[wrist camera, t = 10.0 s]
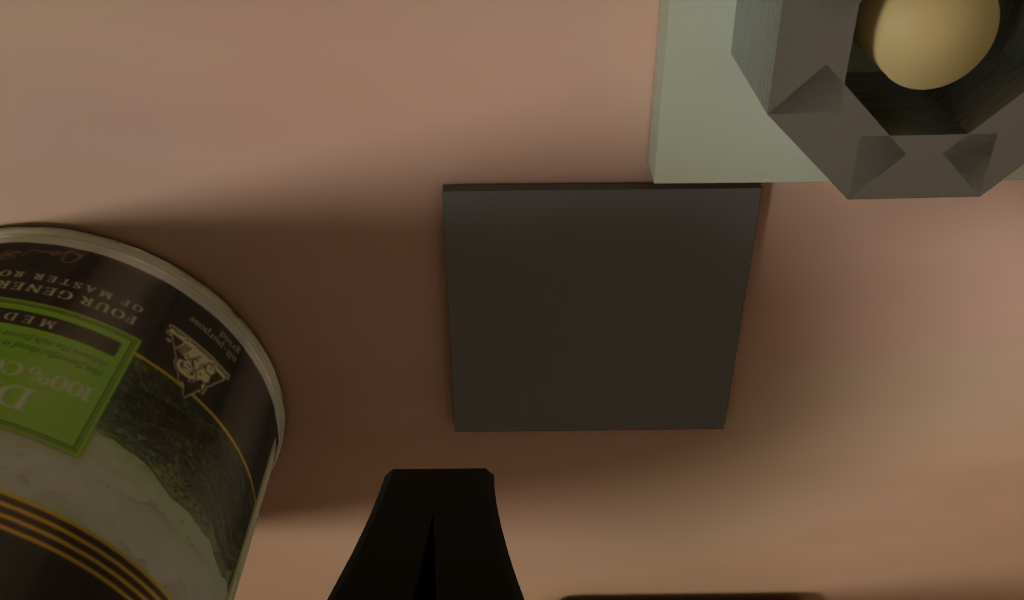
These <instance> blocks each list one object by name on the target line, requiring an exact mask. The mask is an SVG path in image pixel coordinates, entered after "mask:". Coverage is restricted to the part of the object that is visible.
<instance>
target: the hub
mask: <svg viewBox="0 0 1024 600" xmlns="http://www.w3.org/2000/svg"><path fill="white" fill-rule="evenodd" d="M736 2H737V0H661V8H660V21H659V33H658V45H657V57H656V69H655V82H654V94H653V106H652V118H651V131H650V143H649V155H648V165H649V168H650V171H651V175H652V178H653V182H654V183H750V182H831V181H830V180H829V179H828V178H827V177H826V176H825V175H824V174H823V173H822V172H821V171H820V170H819V168H818V167H817V166H816V165H815V164H814V163H813V162H812V161H811V160H810V159H809V158H808V157H807V156H806V155H805V154H804V153H803V152H802V151H801V149H800V148H799V147H798V146H797V145H796V144H795V143H794V142H793V141H792V140H791V139H790V138H789V137H788V136H787V135H786V134H785V133H784V132H783V130H782V129H781V128H780V127H779V126H778V125H777V124H776V123H775V122H774V121H773V120H772V119H771V118H770V117H769V116H768V115H767V113H766V112H765V110H764V108H763V106H762V105H761V103H760V101H759V100H758V98H757V96H756V95H755V93H754V91H753V90H752V88H751V86H750V85H749V83H748V81H747V80H746V78H745V76H744V74H743V73H742V71H741V69H740V68H739V66H738V64H737V63H736V61H735V59H734V58H733V56H732V54H731V47H732V38H733V29H734V20H735V11H736ZM999 21H1000V7H999V3H998V0H862V1H861V2H860V3H859V8H858V13H857V19H856V24H855V30H854V35H853V40H852V46H851V51H850V57H849V62H848V67H847V72H879V71H883V72H884V73H885V74H886V75H887V76H888V77H889V78H890V79H891V80H892V81H894V82H895V83H897V84H899V85H901V86H903V87H906V88H911V89H918V90H926V89H934V88H939V87H942V86H945V85H948V84H950V83H952V82H954V81H956V80H958V79H960V78H962V77H963V76H964V75H966V74H967V73H969V72H970V71H971V70H972V69H973V68H975V67H976V66H977V65H978V64H979V62H980V61H981V60H982V59H983V58H984V56H985V55H986V54H987V52H988V51H989V49H990V48H991V46H992V44H993V42H994V40H995V37H996V34H997V31H998V27H999ZM1003 180H1024V165H1022V166H1021V167H1019V168H1018V169H1017V170H1015V171H1014V172H1013V173H1011V174H1010V175H1008V176H1007V177H1006V178H1004V179H1003Z"/></svg>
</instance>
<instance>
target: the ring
mask: <svg viewBox="0 0 1024 600" xmlns="http://www.w3.org/2000/svg"><path fill="white" fill-rule="evenodd" d="M861 1H862V0H737V2H736V11H735V20H734V29H733V38H732V47H731V54H732V56H733V58H734V59H735V61H736V63H737V64H738V66H739V68H740V69H741V71H742V73H743V74H744V76H745V78H746V80H747V81H748V83H749V85H750V86H751V88H752V90H753V91H754V93H755V95H756V96H757V98H758V100H759V101H760V103H761V105H762V106H763V108H764V110H765V112H766V113H767V115H768V116H769V117H770V118H771V119H772V120H773V121H774V122H775V123H776V124H777V125H778V126H779V127H780V128H781V129H782V130H783V132H784V133H785V134H786V135H787V136H788V137H789V138H790V139H791V140H792V141H793V142H794V143H795V144H796V145H797V146H798V147H799V148H800V149H801V151H802V152H803V153H804V154H805V155H806V156H807V157H808V158H809V159H810V160H811V161H812V162H813V163H814V164H815V165H816V166H817V167H818V168H819V170H820V171H821V172H822V173H823V174H824V175H825V176H826V177H827V178H828V179H829V180H830V181H831V182H832V183H833V184H834V185H835V186H836V187H837V189H838V190H839V191H840V192H841V193H842V194H843V195H844V196H845V197H846V198H847V199H890V198H935V197H979V196H981V195H982V194H984V193H985V192H986V191H988V190H989V189H991V188H992V187H993V186H995V185H996V184H997V183H999V182H1000V181H1002V180H1003V179H1004V178H1006V177H1007V176H1008V175H1010V174H1011V173H1013V172H1014V171H1015V170H1017V169H1018V168H1019V167H1021V166H1022V165H1024V0H998V3H999V7H1000V21H999V27H998V31H997V34H996V37H995V40H994V42H993V44H992V46H991V48H990V49H989V51H988V52H987V54H986V55H985V56H984V58H983V59H982V60H981V61H980V62H979V64H978V65H977V66H976V67H975V68H973V69H972V70H971V71H970V72H969V73H967V74H966V75H964V76H963V77H962V78H960V79H958V80H956V81H954V82H952V83H950V84H948V85H945V86H942V87H939V88H934V89H926V90H918V89H911V88H906V87H903V86H901V85H899V84H897V83H895V82H894V81H892V80H891V79H890V78H889V77H888V76H887V75H886V74H885V73H884V72H883V71H879V72H847V67H848V62H849V57H850V51H851V46H852V40H853V35H854V30H855V24H856V19H857V13H858V8H859V3H860V2H861Z"/></svg>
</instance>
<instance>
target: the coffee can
mask: <svg viewBox="0 0 1024 600" xmlns="http://www.w3.org/2000/svg"><path fill="white" fill-rule="evenodd" d="M285 422H286V418H285V409H284V404H283V398H282V392H281V388H280V384H279V381H278V379H277V376H276V373H275V370H274V368H273V366H272V363H271V361H270V359H269V357H268V355H267V354H266V352H265V350H264V349H263V347H262V346H261V344H260V342H259V341H258V339H257V338H256V336H255V335H254V334H253V332H252V331H251V330H250V328H249V327H248V326H247V325H246V324H245V323H244V322H243V320H242V319H241V318H240V317H239V316H238V315H237V314H236V313H235V311H234V310H233V309H232V308H231V307H230V306H229V305H228V304H227V303H226V302H225V301H224V300H223V299H222V298H220V297H219V296H218V295H217V294H216V293H214V292H213V291H212V290H211V289H209V288H208V287H206V286H205V285H203V284H202V283H200V282H199V281H197V280H196V279H195V278H193V277H192V276H190V275H189V274H187V273H186V272H184V271H182V270H181V269H179V268H177V267H176V266H174V265H173V264H171V263H169V262H167V261H165V260H163V259H161V258H159V257H157V256H154V255H152V254H150V253H148V252H145V251H143V250H141V249H138V248H136V247H133V246H131V245H128V244H125V243H122V242H119V241H116V240H113V239H110V238H106V237H103V236H99V235H94V234H90V233H86V232H81V231H76V230H70V229H64V228H54V227H7V228H0V600H234V597H235V594H236V590H237V587H238V584H239V581H240V577H241V574H242V571H243V567H244V564H245V561H246V557H247V554H248V550H249V547H250V543H251V540H252V536H253V533H254V529H255V525H256V522H257V518H258V515H259V512H260V508H261V505H262V501H263V498H264V495H265V491H266V488H267V484H268V481H269V478H270V474H271V472H272V470H273V468H274V466H275V463H276V461H277V459H278V456H279V453H280V450H281V447H282V442H283V437H284V427H285Z"/></svg>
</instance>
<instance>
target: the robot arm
mask: <svg viewBox="0 0 1024 600" xmlns="http://www.w3.org/2000/svg"><path fill="white" fill-rule="evenodd" d="M327 600H524V598H523V595H522V592H521V589H520V587H519V584H518V581H517V578H516V575H515V572H514V570H513V566H512V563H511V560H510V557H509V554H508V550H507V547H506V543H505V539H504V535H503V532H502V528H501V524H500V519H499V515H498V510H497V504H496V497H495V489H494V475H493V474H492V473H491V472H489V471H488V470H487V469H486V468H473V469H393V470H392V471H391V472H389V473H388V474H387V475H386V476H385V478H384V481H383V484H382V487H381V490H380V492H379V495H378V497H377V500H376V502H375V505H374V507H373V510H372V512H371V514H370V517H369V519H368V521H367V523H366V526H365V528H364V530H363V532H362V534H361V536H360V538H359V540H358V542H357V544H356V546H355V549H354V551H353V553H352V555H351V557H350V558H349V560H348V562H347V564H346V566H345V568H344V570H343V571H342V573H341V575H340V577H339V579H338V581H337V583H336V585H335V586H334V588H333V590H332V592H331V594H330V596H329V598H328V599H327Z"/></svg>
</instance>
